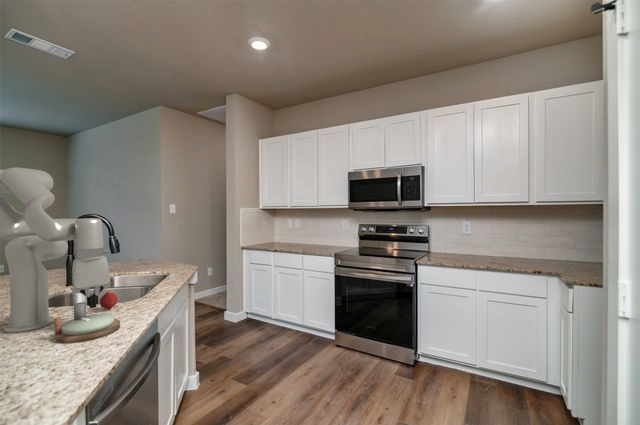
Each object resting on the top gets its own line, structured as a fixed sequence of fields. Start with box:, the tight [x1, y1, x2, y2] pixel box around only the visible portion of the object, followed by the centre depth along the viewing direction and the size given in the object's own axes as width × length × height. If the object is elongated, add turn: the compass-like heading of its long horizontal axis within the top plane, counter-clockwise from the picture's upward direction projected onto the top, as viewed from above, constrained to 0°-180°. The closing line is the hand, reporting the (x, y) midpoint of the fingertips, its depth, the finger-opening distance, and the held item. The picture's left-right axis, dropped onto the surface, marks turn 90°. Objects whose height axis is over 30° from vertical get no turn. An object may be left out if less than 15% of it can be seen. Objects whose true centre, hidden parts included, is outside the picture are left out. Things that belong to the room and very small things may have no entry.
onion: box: [99, 289, 118, 311], centre depth 121 cm, size 6×6×8 cm
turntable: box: [61, 302, 115, 335], centre depth 98 cm, size 14×14×7 cm
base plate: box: [54, 316, 121, 344], centre depth 98 cm, size 17×17×6 cm
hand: (92, 307), depth 103 cm, fingers closed
